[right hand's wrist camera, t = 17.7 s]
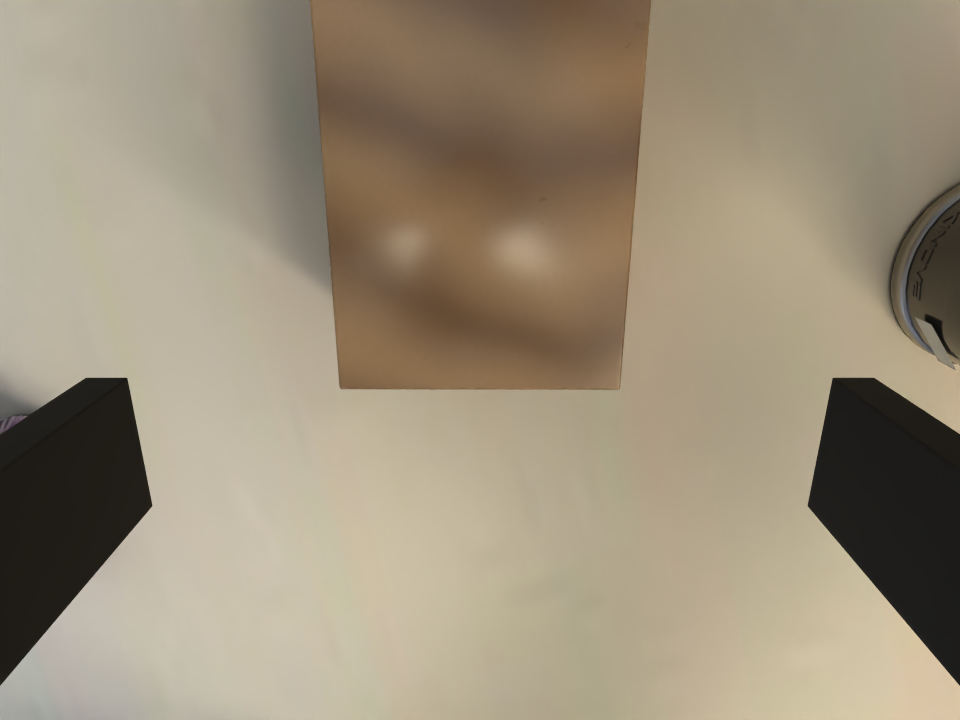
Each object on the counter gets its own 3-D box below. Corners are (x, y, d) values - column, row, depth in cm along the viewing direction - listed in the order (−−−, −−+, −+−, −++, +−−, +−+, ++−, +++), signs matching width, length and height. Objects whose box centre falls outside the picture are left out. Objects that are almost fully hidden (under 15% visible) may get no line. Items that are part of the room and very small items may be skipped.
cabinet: (348, -114, 27) (293, -213, 19) (612, -113, 27) (668, -212, 19) (373, 324, 33) (339, 390, 25) (586, 325, 33) (620, 390, 25)
